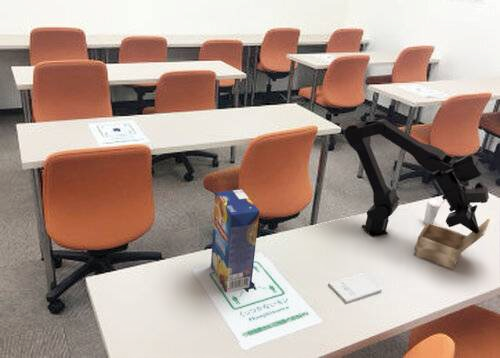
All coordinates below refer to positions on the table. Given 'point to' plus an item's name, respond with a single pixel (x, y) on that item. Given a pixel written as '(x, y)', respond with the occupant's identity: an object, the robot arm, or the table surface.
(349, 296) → the external hard drive
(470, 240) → the flap
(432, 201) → the milkshake
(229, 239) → the juice carton
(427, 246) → the carton
